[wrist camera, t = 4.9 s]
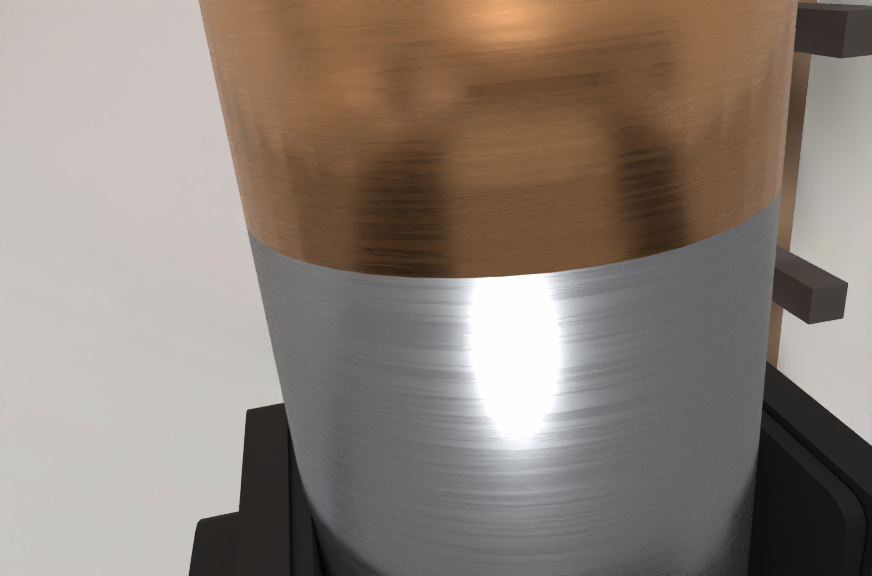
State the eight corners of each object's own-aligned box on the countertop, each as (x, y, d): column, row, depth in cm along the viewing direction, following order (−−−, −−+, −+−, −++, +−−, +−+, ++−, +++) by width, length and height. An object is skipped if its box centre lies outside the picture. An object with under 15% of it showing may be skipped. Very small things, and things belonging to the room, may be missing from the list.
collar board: (752, 417, 32) (949, 597, 23) (476, 471, 30) (567, 690, 21) (836, -445, 21) (1290, -783, 12) (408, -441, 19) (538, -838, 10)
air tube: (566, 791, 17) (778, 1045, 13) (367, 953, 14) (547, 1329, 10) (514, -343, 9) (1058, -666, 4) (36, -399, 6) (266, -1173, 2)
